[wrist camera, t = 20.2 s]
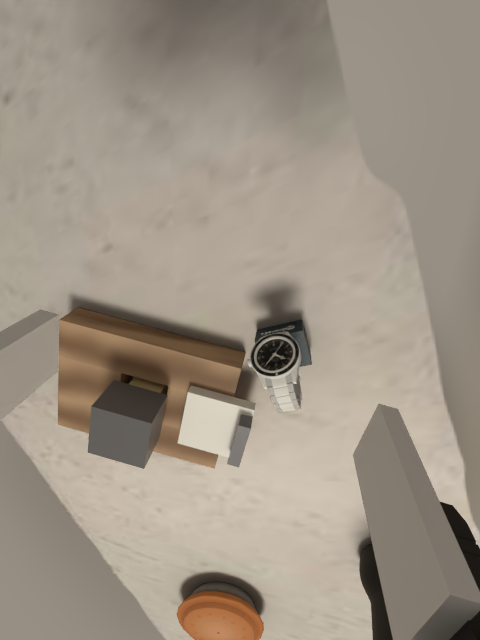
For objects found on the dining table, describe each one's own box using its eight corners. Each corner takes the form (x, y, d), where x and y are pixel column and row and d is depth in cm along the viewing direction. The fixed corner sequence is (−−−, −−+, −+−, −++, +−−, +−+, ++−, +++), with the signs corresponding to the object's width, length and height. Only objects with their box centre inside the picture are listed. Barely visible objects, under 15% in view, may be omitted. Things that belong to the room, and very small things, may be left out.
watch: (297, 304, 40) (300, 348, 30) (313, 363, 43) (320, 422, 32) (251, 315, 41) (239, 360, 31) (269, 372, 44) (263, 431, 34)
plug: (135, 355, 46) (91, 406, 35) (182, 368, 45) (151, 423, 35) (130, 394, 48) (87, 452, 38) (174, 407, 48) (144, 468, 38)
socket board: (78, 307, 44) (59, 319, 40) (245, 352, 43) (241, 369, 40) (74, 406, 50) (58, 424, 47) (220, 446, 50) (214, 468, 46)
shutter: (191, 385, 41) (182, 402, 38) (255, 403, 41) (252, 421, 38) (180, 435, 44) (172, 455, 41) (240, 452, 44) (236, 473, 41)
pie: (177, 612, 68) (169, 644, 63) (189, 564, 61) (180, 595, 57) (254, 633, 67) (251, 667, 62) (273, 587, 61) (272, 620, 56)
